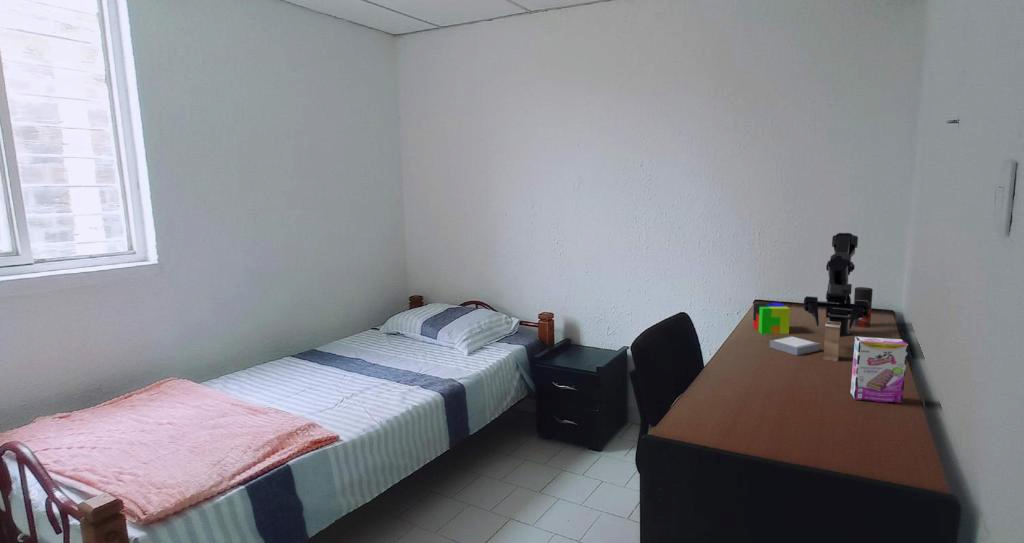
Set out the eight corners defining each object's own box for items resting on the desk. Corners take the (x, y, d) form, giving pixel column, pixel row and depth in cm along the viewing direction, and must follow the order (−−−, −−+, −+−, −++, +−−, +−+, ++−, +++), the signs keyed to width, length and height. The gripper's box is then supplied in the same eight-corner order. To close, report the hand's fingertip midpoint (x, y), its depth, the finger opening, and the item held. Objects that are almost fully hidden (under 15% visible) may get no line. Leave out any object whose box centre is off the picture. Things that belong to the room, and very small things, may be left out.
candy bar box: (854, 400, 146) (858, 341, 144) (849, 393, 151) (853, 335, 148) (904, 404, 142) (909, 343, 140) (897, 397, 147) (902, 338, 145)
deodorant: (853, 327, 217) (856, 289, 214) (851, 323, 222) (853, 286, 220) (871, 328, 214) (874, 290, 212) (868, 324, 220) (870, 287, 218)
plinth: (791, 342, 199) (791, 335, 198) (819, 350, 189) (819, 343, 189) (769, 347, 194) (769, 340, 194) (797, 355, 184) (797, 347, 184)
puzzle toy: (778, 327, 220) (779, 302, 219) (788, 334, 210) (789, 308, 209) (753, 327, 221) (753, 303, 220) (761, 334, 211) (762, 308, 210)
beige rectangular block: (824, 355, 183) (826, 320, 181) (838, 357, 181) (840, 322, 179) (823, 359, 180) (825, 323, 178) (837, 361, 178) (839, 325, 176)
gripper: (805, 273, 188) (800, 310, 181) (870, 276, 178) (867, 316, 170) (807, 291, 196) (802, 328, 188) (869, 296, 186) (866, 335, 178)
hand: (833, 327), depth 181 cm, fingers open, 9 cm apart
